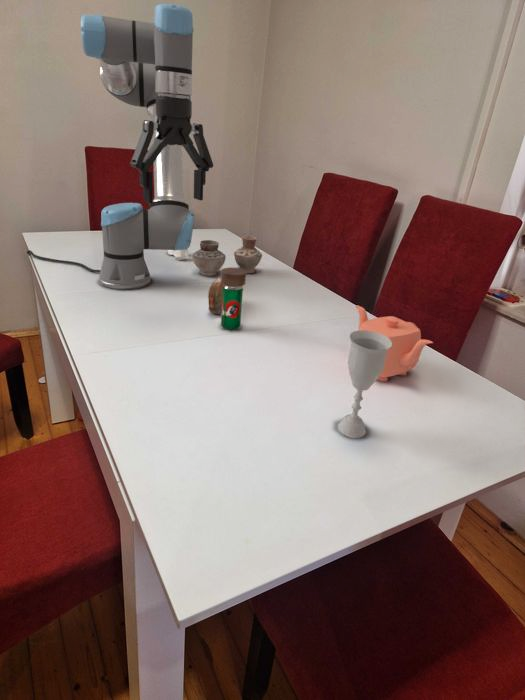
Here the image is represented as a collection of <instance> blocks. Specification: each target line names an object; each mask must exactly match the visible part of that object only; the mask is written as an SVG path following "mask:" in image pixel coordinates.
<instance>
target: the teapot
mask: <svg viewBox="0 0 525 700" xmlns="http://www.w3.org/2000/svg"><path fill="white" fill-rule="evenodd" d="M355 308H356V309H357V311H358V314H359V324H358V330H357V331H359V330H366V331H373V332H377V333H379V334H382V335H384V336H386V337H387V338H389V339H390V340H391V342H392V346H391V347H390V348H389V349H388V351H387V353H386V358H385V362H384V366H383V370H382V373H381V374H380V376H379V377H378V379H377V380H378V381H380V382H387V381H388V377H394V376H398V375H399V376H407V372H410V371H412V370H413V369H414V368H415V367H416V366H417V364H418V362H419V360H420V357H421V354H422V352H423V350H424V348H425V346H426V345H429V344H434V342H433V341H431V340H430V339H424V338H423V339H422V333H421V329H420V328H419V327H418V326H417V325H416V324H415V323H414V322H411V321H405V320H403V319H401V318H398V317H396V316H393V315H389V316H380V317H375V318H371V319H369V318H368V315H367V311H366V309H365V308H364V307H363V306H360V305H355Z"/></svg>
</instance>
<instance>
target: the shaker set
mask: <svg viewBox="0 0 525 700" xmlns="http://www.w3.org/2000/svg"><path fill="white" fill-rule="evenodd" d="M167 254H168V255H170V256H174V257H175V258H176V259H177V260H179V261H183V260H185V259H188V258H189V256H190V255H189V251H188V249H186V250H175V251H174V250H167Z"/></svg>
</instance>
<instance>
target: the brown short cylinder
mask: <svg viewBox="0 0 525 700" xmlns="http://www.w3.org/2000/svg"><path fill="white" fill-rule="evenodd" d="M220 276H221V283H222V284H224V285H226V286H231V287H240V286H245V285H246V281H247V273H246V271H245V270H243V269H240V267H233V266H231V267H224V268H222V269H221V274H220Z"/></svg>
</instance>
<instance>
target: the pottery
mask: <svg viewBox="0 0 525 700" xmlns="http://www.w3.org/2000/svg"><path fill="white" fill-rule="evenodd" d="M241 241H242V246H241V247H239V248H238V249H236V250H235V251H234V252H233V256H234V261H235V263H236V264H237V266H238V268H240V269H243V270H245V271H246V274H253V273H255V272H256V269H255V268H256V267H258V265H259V264H260V263H261V260H262V258H263V253H262V252H261V251H259V249H257V247H256V242H257V237H255V236H250V235H247V236H246V235H244V236H242V237H241ZM219 246H220V243H219V242H218V241H216V240H212V239H204V240H201V241H200V242H199V247H200V249H198V250H196V251H194V252H193V253H192V255H191V257H192V261H193V263H194V265H195V267H196V268H197V269H198V270H199V274H200V275H203V276H209V277H212V276H217V274H218V271H219V270H220V269H221V268H222V267H223V266H224V264H225V261H226V258H227V257H226V256H227V255H225V253H224V252H222V251H221V250H219Z"/></svg>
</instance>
